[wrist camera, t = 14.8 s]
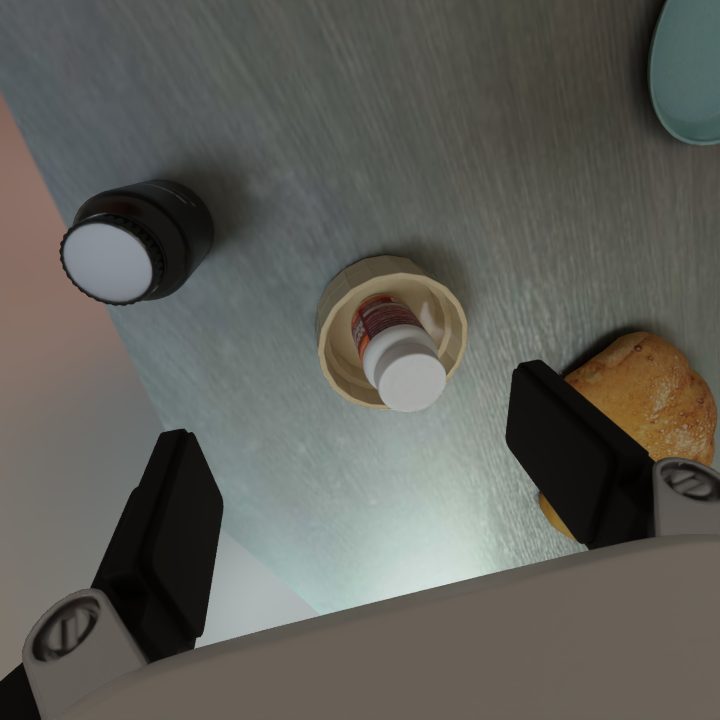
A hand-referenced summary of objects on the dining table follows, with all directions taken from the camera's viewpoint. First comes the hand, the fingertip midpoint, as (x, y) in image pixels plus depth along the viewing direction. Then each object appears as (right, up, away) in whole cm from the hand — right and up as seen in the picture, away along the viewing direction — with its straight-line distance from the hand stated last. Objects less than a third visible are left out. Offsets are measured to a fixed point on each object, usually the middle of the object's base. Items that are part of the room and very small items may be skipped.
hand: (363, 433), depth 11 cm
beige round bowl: (+2, +6, +27) cm, 28 cm away
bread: (+33, -7, +40) cm, 53 cm away
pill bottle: (+2, +6, +26) cm, 27 cm away
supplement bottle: (-15, +13, +20) cm, 28 cm away
